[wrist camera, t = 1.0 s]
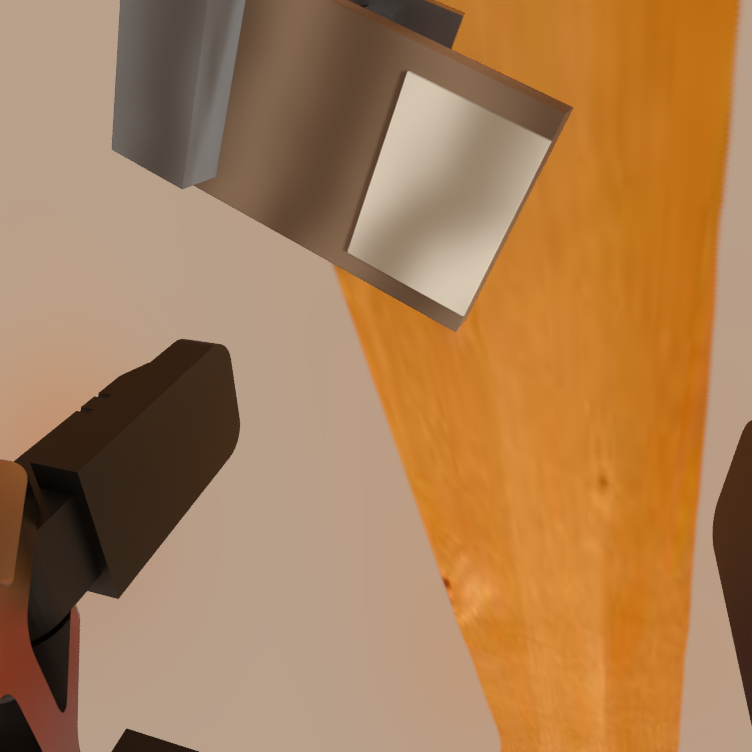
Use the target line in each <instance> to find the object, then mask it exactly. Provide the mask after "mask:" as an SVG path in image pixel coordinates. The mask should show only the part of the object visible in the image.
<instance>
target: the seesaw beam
mask: <svg viewBox="0 0 752 752" xmlns="http://www.w3.org/2000/svg"><path fill="white" fill-rule="evenodd" d="M572 109H573V107H571V106H569V105H567V104H565V103H562V102H560V101H558V100H556V99H554V98H552V97H550V96H548V95H546V94H544V93H542V92H539V91H537V90H535V89H533V88H531V87H529V86H527V85H525V84H523V83H521V82H519V81H516V80H514V79H512V78H510V77H508V76H506V75H504V74H502V73H500V72H498V71H495V70H493V69H491V68H489V67H487V66H485V65H483V64H481V63H479V62H477V61H475V60H472V59H470V58H468V57H466V56H464V55H462V54H460V53H458V52H456V51H454V50H452V49H449V48H447V47H445V46H443V45H441V44H439V43H437V42H435V41H433V40H431V39H428V38H426V37H424V36H422V35H420V34H418V33H416V32H414V31H412V30H410V29H408V28H405V27H403V26H401V25H399V24H397V23H395V22H393V21H391V20H389V19H387V18H385V17H382V16H380V15H378V14H376V13H374V12H372V11H370V10H368V9H366V8H364V7H361V6H359V5H357V4H355V3H353V2H351V1H349V0H120V16H119V33H118V51H117V69H116V85H115V103H114V120H113V137H112V138H113V139H112V150H114V151H115V152H117V153H119V154H121V155H123V156H124V157H126V158H128V159H130V160H131V161H133V162H135V163H137V164H138V165H140V166H142V167H144V168H146V169H147V170H149V171H151V172H153V173H154V174H156V175H158V176H160V177H162V178H163V179H165V180H167V181H169V182H171V183H172V184H174V185H176V186H178V187H179V188H181V189H184V188H187V187H190V186H192V185H194V186H196V187H197V188H199V189H201V190H203V191H205V192H206V193H208V194H210V195H212V196H214V197H215V198H217V199H219V200H221V201H223V202H224V203H226V204H228V205H230V206H232V207H233V208H235V209H237V210H238V211H240V212H242V213H244V214H246V215H247V216H249V217H251V218H253V219H255V220H256V221H258V222H260V223H262V224H264V225H265V226H267V227H269V228H271V229H272V230H274V231H276V232H278V233H280V234H281V235H283V236H285V237H287V238H288V239H290V240H292V241H294V242H296V243H297V244H299V245H301V246H303V247H305V248H306V249H308V250H310V251H312V252H313V253H315V254H317V255H319V256H321V257H323V258H324V259H326V260H328V261H329V262H331V263H333V264H335V265H337V266H338V267H340V268H342V269H344V270H346V271H347V272H349V273H351V274H353V275H354V276H356V277H358V278H360V279H362V280H363V281H365V282H367V283H369V284H370V285H372V286H374V287H376V288H378V289H379V290H381V291H383V292H385V293H387V294H388V295H390V296H392V297H394V298H395V299H397V300H399V301H401V302H403V303H404V304H406V305H408V306H410V307H412V308H413V309H415V310H417V311H419V312H420V313H422V314H424V315H426V316H428V317H429V318H431V319H433V320H435V321H436V322H438V323H440V324H442V325H444V326H445V327H447V328H449V329H451V330H453V331H454V332H456V331H457V330H458V329H459V328H460V326H461V325H462V324H463V322H464V321H465V320H466V319H467V317H468V315H469V313H470V311H471V309H472V307H473V305H474V303H475V301H476V299H477V297H478V295H479V293H480V291H481V289H482V287H483V285H484V283H485V281H486V279H487V277H488V275H489V273H490V271H491V269H492V267H493V265H494V263H495V261H496V259H497V257H498V255H499V253H500V251H501V249H502V248H503V246H504V244H505V242H506V240H507V238H508V236H509V234H510V232H511V230H512V228H513V226H514V224H515V222H516V220H517V218H518V216H519V214H520V212H521V210H522V208H523V206H524V204H525V202H526V200H527V198H528V196H529V194H530V192H531V190H532V188H533V186H534V184H535V182H536V180H537V179H538V177H539V175H540V173H541V171H542V169H543V167H544V165H545V163H546V161H547V159H548V157H549V155H550V153H551V151H552V149H553V147H554V145H555V143H556V141H557V139H558V137H559V135H560V133H561V131H562V129H563V127H564V125H565V123H566V121H567V119H568V117H569V115H570V113H571V111H572Z"/></svg>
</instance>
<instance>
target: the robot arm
mask: <svg viewBox="0 0 752 752" xmlns="http://www.w3.org/2000/svg"><path fill="white" fill-rule="evenodd" d="M239 431H240V419H239V412H238V405H237V398H236V391H235V384H234V377H233V371H232V364H231V358H230V354H229V351H228V350H227V348H226V347H225V346H223V345H221V344H215V343H208V342H201V341H193V340H186V339H180V340H177V341H176V342H175V343H173V344H172V345H171V346H170V347H168V348H167V349H166V350H165V351H164V352H162V353H161V354H160V355H159V356H157V357H156V358H155V359H154V360H153V361H151V362H150V363H147V364H145V365H143V366H140V367H138V368H136V369H134V370H132V371H130V372H127V373H125V374H123V375H121V376H119V377H118V378H117V379H116V380H114V381H113V382H112V383H111V384H109V385H108V386H107V387H106V388H105V389H103V390H102V391H101V392H99V396H98V397H93V398H92V399H91V400H89V401H88V402H87V403H86V404H85V405H83V406H82V407H81V411H80V412H79V411H76V412H75V413H73V414H72V415H71V416H70V417H69V418H67V419H66V420H65V421H64V422H62V423H61V424H60V425H59V426H57V427H56V428H55V429H54V430H52V431H51V432H50V433H49V434H47V435H46V436H45V437H44V438H42V439H41V440H40V441H39V442H37V443H36V444H35V445H34V446H32V447H31V448H30V449H29V450H28V451H26V452H25V453H24V454H23V455H21V456H20V457H19V458H18V459H16V460H15V461H14V462H12V461H7V460H0V752H80V748H79V740H78V727H77V726H78V724H77V723H78V722H77V721H78V683H79V642H80V615H79V612H78V609H77V606H76V603H77V602H78V601H79V600H80V598H81V597H82V596H83V595H84V594H85V593H86V592H87V591H90V592H94V593H98V594H102V595H106V596H109V597H113V598H117V599H119V597H120V596H121V595H122V593H123V592H124V591H125V590H126V589H127V587H128V586H129V585H130V583H131V582H132V581H133V580H134V578H135V577H136V576H137V575H138V573H139V572H140V571H141V569H142V568H143V567H144V566H145V564H146V563H147V562H148V560H149V559H150V558H151V557H152V555H153V554H154V553H155V552H156V550H157V549H158V548H159V547H160V545H161V544H162V543H163V541H164V540H165V539H166V538H167V536H168V535H169V534H170V533H171V531H172V530H173V529H174V527H175V526H176V525H177V524H178V522H179V521H180V520H181V519H182V517H183V516H184V515H185V514H186V512H187V511H188V510H189V508H190V507H191V506H192V505H193V503H194V502H195V501H196V500H197V498H198V497H199V496H200V494H201V493H202V492H203V491H204V489H205V488H206V487H207V485H208V484H209V483H210V482H211V480H212V479H213V478H214V477H215V475H216V474H217V473H218V472H219V470H220V469H221V468H222V467H223V465H224V464H225V463H226V461H227V460H228V459H229V458H230V456H231V455H232V453H233V451H234V449H235V447H236V444H237V441H238V437H239ZM713 546H714V552H715V556H716V561H717V566H718V570H719V575H720V580H721V584H722V589H723V594H724V598H725V603H726V608H727V612H728V617H729V621H730V626H731V630H732V636H733V640H734V645H735V649H736V654H737V659H738V664H739V668H740V673H741V677H742V682H743V687H744V691H745V696H746V701H747V706H748V710H749V715H750V720H751V724H752V420H751V421H750V422H748V423H747V425H746V426H745V428H744V430H743V432H742V435H741V437H740V440H739V443H738V446H737V449H736V451H735V454H734V457H733V460H732V463H731V466H730V468H729V471H728V474H727V477H726V480H725V482H724V485H723V488H722V491H721V494H720V497H719V500H718V502H717V506H716V509H715V514H714V521H713ZM112 752H198V751H195V750H192V749H189V748H186V747H183V746H179V745H177V744H173V743H170V742H167V741H164V740H161V739H158V738H155V737H151V736H148V735H145V734H142V733H139V732H136V731H133V730H129V729H126V730H125V732H124V733H123V735H122V736H121V738H120V739H119V741H118V743H117V744H116V746H115V747H114V749H113V751H112Z"/></svg>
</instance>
